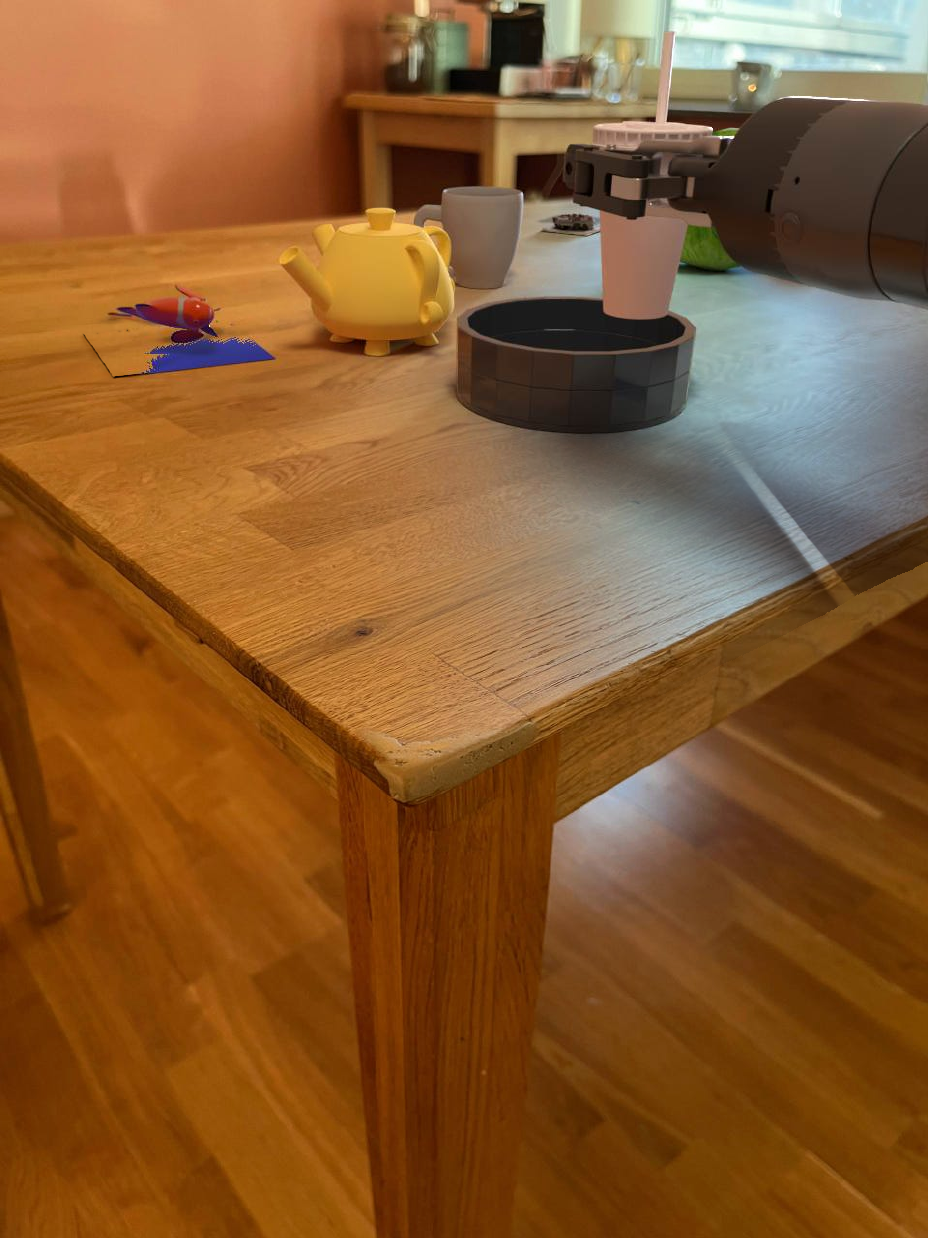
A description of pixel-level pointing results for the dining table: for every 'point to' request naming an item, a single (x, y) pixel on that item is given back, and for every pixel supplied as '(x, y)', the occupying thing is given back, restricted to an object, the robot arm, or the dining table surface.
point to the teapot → (377, 281)
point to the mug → (479, 232)
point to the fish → (189, 334)
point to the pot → (572, 365)
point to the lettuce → (707, 239)
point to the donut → (573, 224)
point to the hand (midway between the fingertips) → (624, 163)
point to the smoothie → (643, 219)
